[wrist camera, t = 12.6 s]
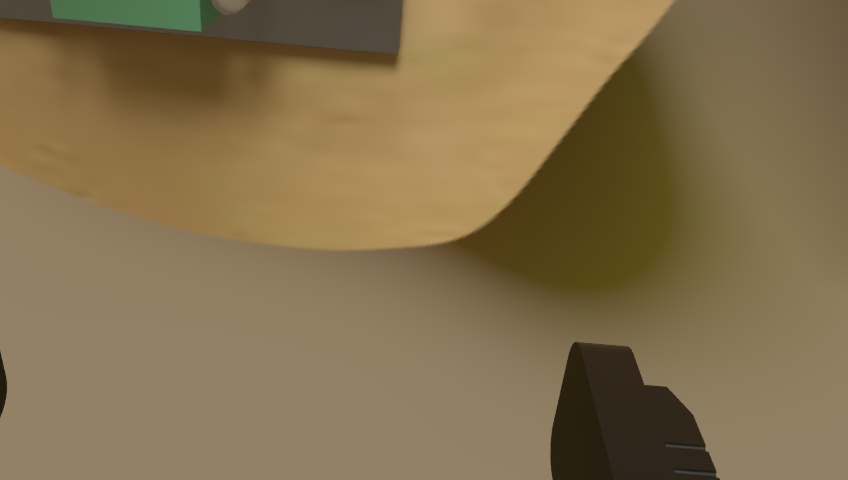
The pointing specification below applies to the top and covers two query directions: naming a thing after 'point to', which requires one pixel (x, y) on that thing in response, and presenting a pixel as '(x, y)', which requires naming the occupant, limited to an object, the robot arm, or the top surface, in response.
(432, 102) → the top surface
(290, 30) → the chassis
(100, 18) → the board
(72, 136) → the top surface
